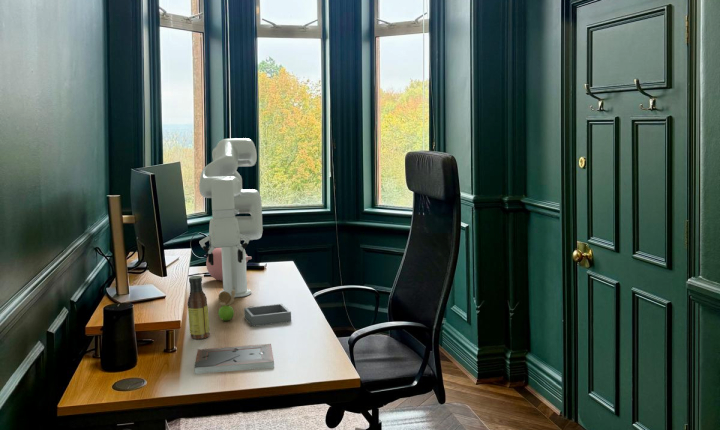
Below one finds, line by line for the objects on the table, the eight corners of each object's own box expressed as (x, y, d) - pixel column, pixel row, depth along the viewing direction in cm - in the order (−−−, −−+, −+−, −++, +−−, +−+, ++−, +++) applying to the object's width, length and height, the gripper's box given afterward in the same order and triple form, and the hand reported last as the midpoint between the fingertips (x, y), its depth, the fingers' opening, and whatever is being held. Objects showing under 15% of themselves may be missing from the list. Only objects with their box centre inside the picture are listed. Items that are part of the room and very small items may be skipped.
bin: (244, 317, 246) (244, 307, 245) (282, 313, 251) (281, 303, 250) (252, 326, 234) (251, 316, 234) (291, 321, 239) (290, 311, 238)
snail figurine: (233, 322, 239) (232, 288, 238) (216, 322, 240) (214, 288, 239) (239, 318, 244) (237, 285, 243) (222, 318, 246) (220, 284, 244)
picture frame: (194, 375, 190) (274, 369, 193) (194, 366, 189) (273, 360, 193) (198, 356, 206) (271, 350, 209) (197, 348, 205) (270, 342, 209)
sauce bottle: (203, 333, 228) (200, 273, 225) (213, 336, 223) (210, 276, 221) (185, 337, 223) (182, 277, 221) (195, 341, 219) (192, 279, 216)
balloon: (253, 282, 303) (252, 247, 301) (206, 285, 299) (205, 250, 297) (251, 275, 318) (250, 242, 316) (207, 278, 314) (205, 244, 312)
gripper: (246, 211, 244) (248, 259, 246) (196, 214, 238) (198, 263, 240) (250, 213, 237) (252, 262, 239) (199, 217, 231) (202, 267, 233)
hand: (225, 263), depth 240 cm, fingers open, 9 cm apart
